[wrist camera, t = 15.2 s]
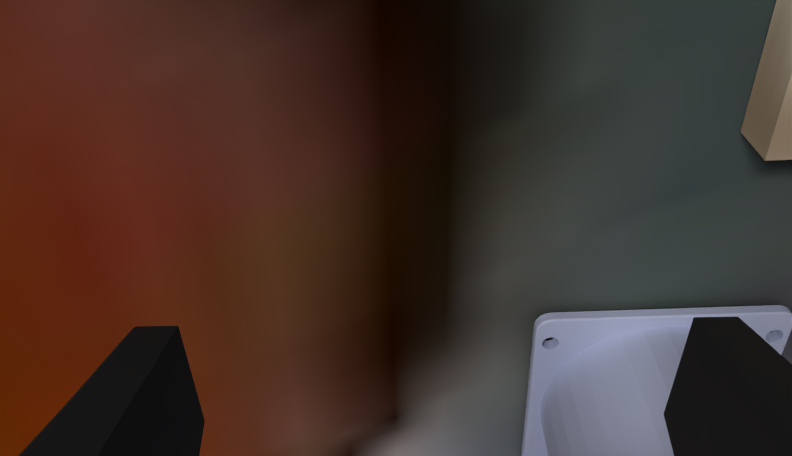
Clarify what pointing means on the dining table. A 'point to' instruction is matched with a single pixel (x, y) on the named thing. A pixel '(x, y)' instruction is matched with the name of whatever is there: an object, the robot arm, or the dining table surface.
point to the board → (773, 91)
